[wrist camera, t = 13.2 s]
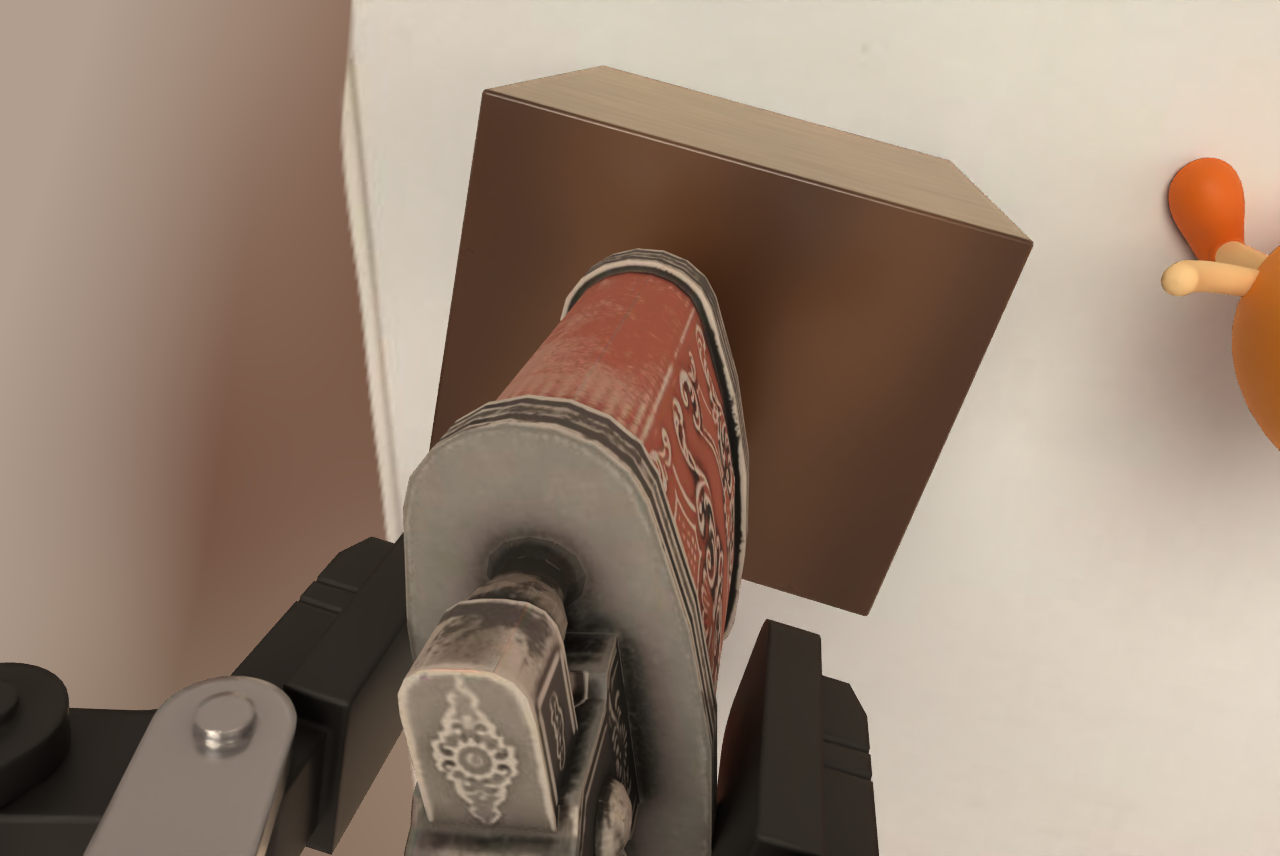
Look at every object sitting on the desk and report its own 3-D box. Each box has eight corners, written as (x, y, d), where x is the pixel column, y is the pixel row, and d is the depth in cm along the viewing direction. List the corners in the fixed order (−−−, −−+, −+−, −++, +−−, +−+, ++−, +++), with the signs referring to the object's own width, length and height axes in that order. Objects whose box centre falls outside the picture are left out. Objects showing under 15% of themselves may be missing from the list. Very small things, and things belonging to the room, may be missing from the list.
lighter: (543, 254, 16) (188, 567, 7) (736, 241, 15) (632, 569, 6) (598, 630, 19) (410, 1186, 10) (760, 633, 18) (715, 1231, 9)
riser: (545, 337, 34) (422, 483, 23) (601, 64, 30) (481, 88, 19) (848, 426, 33) (867, 618, 23) (952, 160, 29) (1036, 242, 18)
